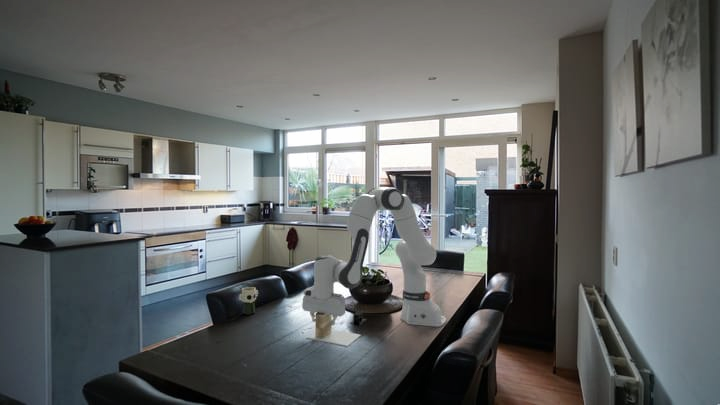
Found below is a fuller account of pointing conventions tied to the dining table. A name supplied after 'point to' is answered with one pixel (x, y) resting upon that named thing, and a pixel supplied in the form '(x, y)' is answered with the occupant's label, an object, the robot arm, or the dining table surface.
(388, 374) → the dining table surface
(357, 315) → the black box
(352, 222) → the robot arm
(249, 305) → the character mug
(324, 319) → the oak slab
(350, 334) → the felt mat
